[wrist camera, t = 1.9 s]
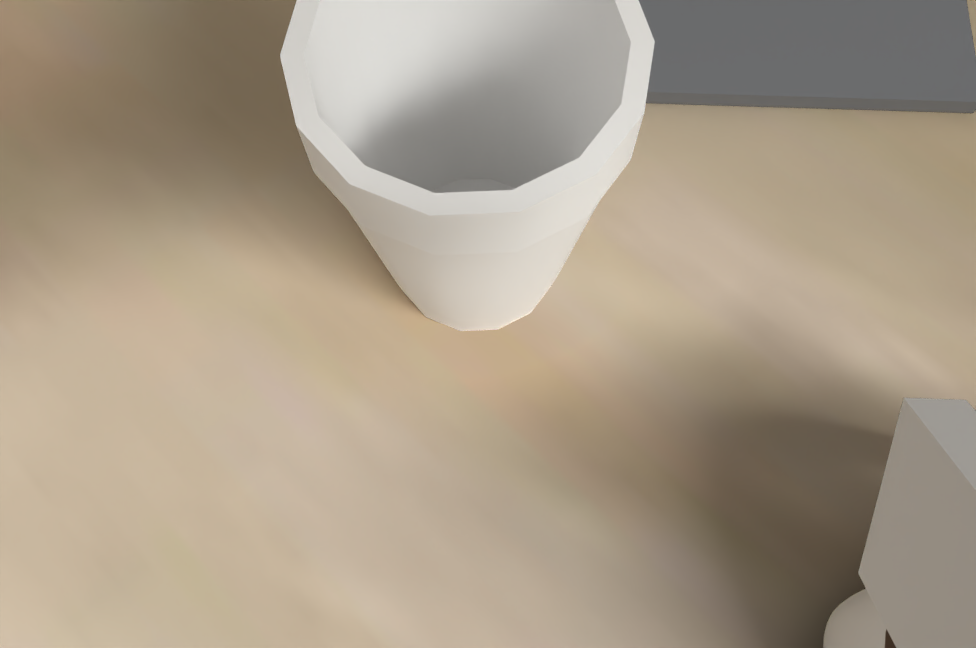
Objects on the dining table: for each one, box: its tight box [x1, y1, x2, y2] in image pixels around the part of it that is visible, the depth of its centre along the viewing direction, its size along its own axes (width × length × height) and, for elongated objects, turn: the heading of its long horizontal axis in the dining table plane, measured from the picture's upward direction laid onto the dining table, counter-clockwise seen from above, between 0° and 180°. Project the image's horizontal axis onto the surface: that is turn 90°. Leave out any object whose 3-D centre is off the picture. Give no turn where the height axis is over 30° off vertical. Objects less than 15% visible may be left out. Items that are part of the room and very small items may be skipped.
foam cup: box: [280, 0, 655, 331], centre depth 29 cm, size 10×9×13 cm
